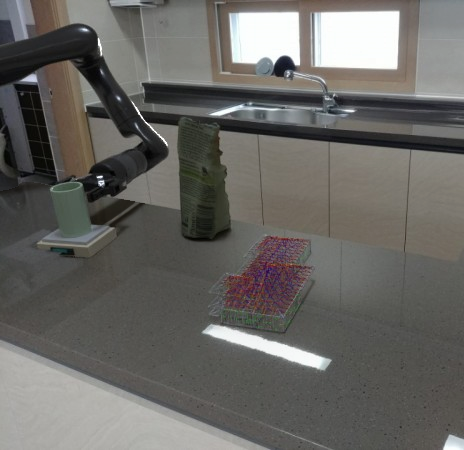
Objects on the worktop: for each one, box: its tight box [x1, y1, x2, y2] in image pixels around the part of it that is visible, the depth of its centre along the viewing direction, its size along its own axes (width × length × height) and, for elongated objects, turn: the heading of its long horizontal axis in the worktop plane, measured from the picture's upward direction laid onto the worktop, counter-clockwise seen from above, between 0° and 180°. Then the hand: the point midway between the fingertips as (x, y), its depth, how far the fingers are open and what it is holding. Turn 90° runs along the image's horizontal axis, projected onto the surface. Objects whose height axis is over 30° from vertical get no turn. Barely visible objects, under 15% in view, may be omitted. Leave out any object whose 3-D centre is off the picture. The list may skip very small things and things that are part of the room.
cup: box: [49, 182, 93, 238], centre depth 110 cm, size 6×6×10 cm
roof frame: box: [207, 233, 316, 333], centre depth 94 cm, size 30×15×5 cm, turn 162°
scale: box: [36, 224, 118, 259], centre depth 113 cm, size 12×10×3 cm
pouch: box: [176, 116, 232, 240], centre depth 112 cm, size 11×12×25 cm
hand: (70, 197), depth 110 cm, fingers open, 8 cm apart
